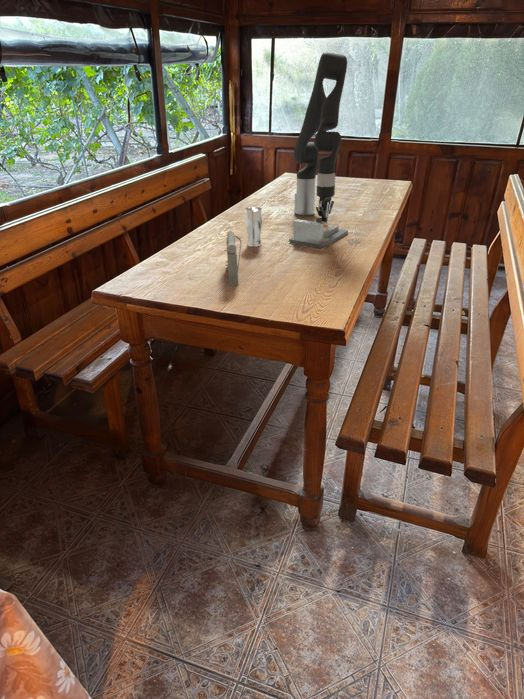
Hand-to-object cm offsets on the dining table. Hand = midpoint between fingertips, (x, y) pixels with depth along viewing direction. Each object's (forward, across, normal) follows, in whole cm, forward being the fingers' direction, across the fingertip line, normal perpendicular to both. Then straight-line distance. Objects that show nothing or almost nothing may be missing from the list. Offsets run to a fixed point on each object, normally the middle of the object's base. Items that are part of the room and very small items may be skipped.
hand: (324, 225), depth 213 cm
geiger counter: (+4, +60, -6) cm, 60 cm away
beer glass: (+4, +26, -19) cm, 33 cm away
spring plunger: (+3, +5, 0) cm, 6 cm away
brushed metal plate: (+3, +14, 0) cm, 15 cm away
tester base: (+5, +4, 0) cm, 6 cm away
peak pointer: (+3, +8, 0) cm, 9 cm away
